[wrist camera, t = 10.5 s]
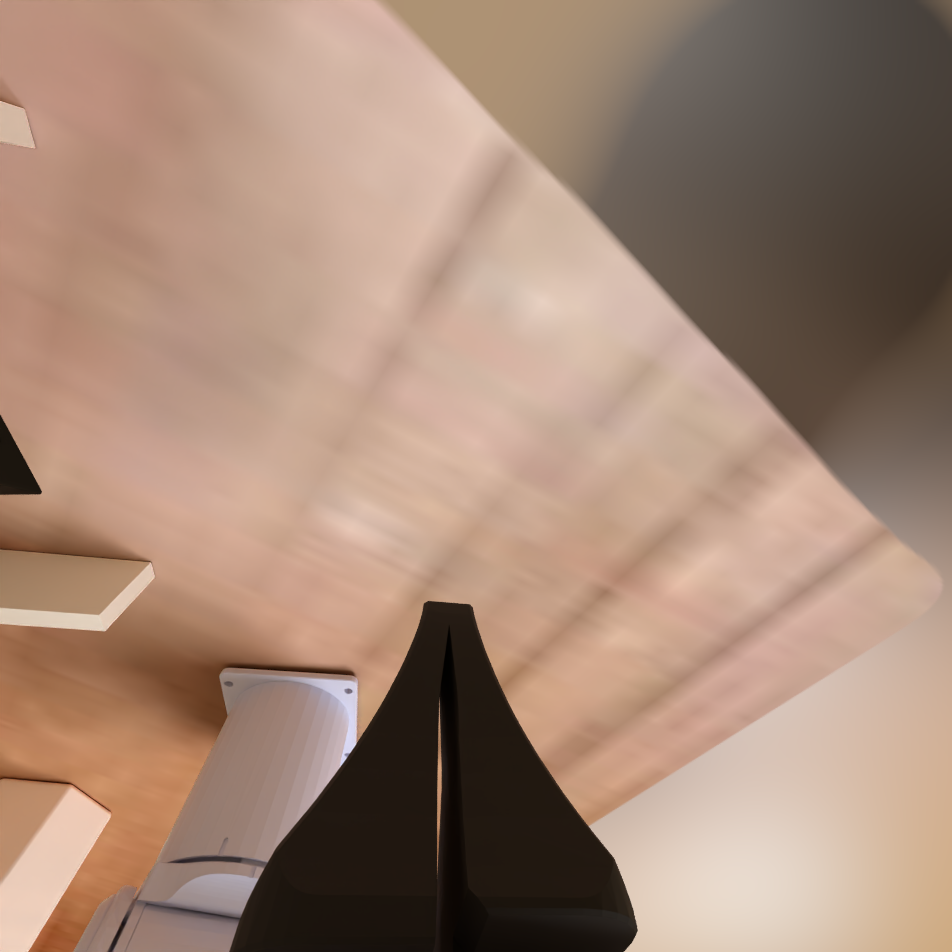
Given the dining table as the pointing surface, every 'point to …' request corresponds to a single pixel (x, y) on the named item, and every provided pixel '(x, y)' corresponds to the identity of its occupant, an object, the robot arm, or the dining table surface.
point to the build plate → (14, 467)
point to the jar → (40, 852)
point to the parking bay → (53, 575)
